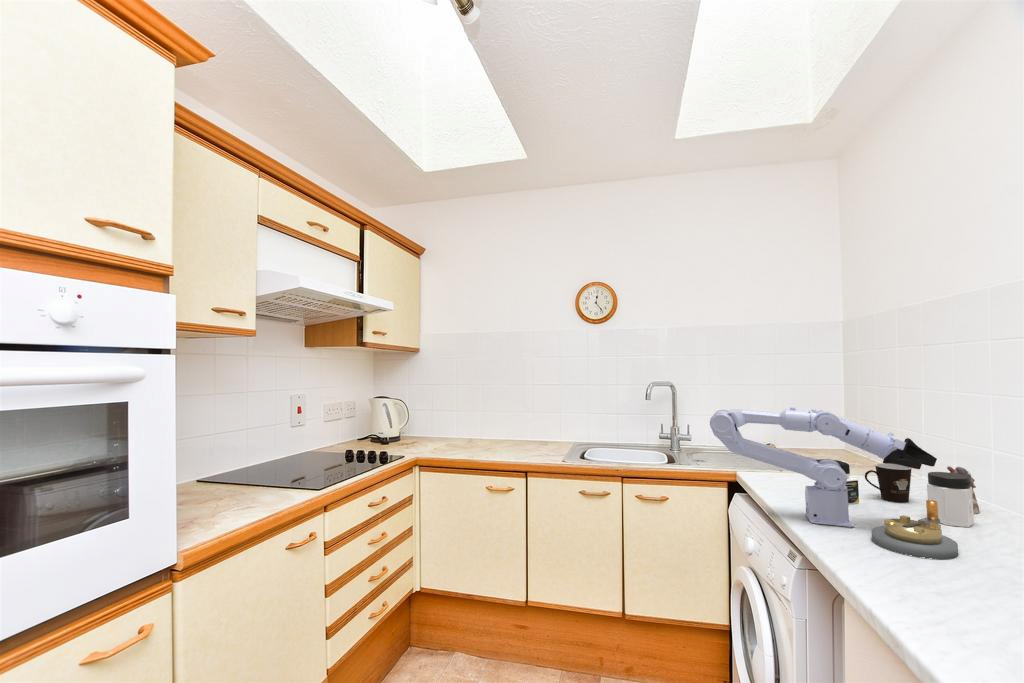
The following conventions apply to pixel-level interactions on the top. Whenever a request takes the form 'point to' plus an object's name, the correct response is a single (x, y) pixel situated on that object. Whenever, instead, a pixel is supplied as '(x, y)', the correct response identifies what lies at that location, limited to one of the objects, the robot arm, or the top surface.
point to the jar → (952, 498)
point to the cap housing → (915, 546)
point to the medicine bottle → (850, 483)
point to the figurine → (964, 472)
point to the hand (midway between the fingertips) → (927, 464)
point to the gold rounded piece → (917, 527)
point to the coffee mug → (892, 482)
